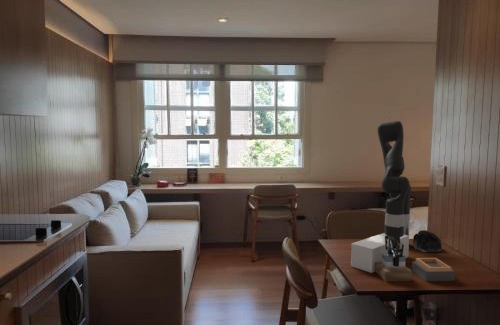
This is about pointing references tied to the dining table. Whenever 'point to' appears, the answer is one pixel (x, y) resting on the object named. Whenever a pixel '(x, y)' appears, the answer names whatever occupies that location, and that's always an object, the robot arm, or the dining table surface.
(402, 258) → the block
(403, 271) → the walnut stand
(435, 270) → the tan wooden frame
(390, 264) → the housing base plate
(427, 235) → the crystal cluster
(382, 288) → the dining table surface
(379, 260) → the long white block
